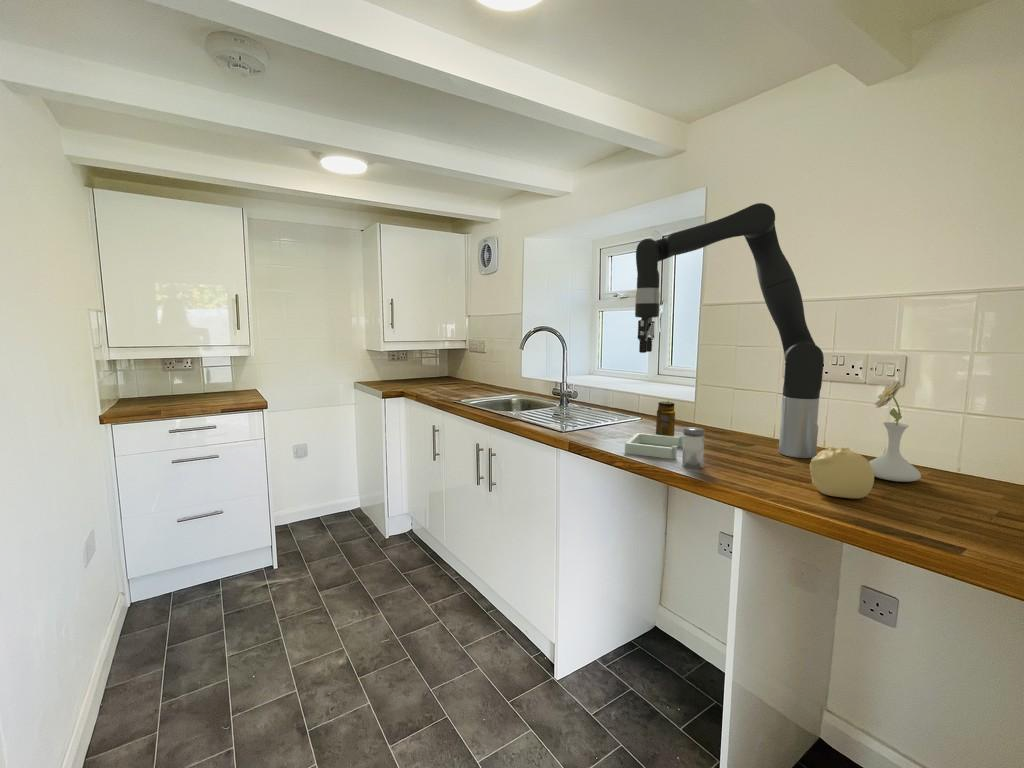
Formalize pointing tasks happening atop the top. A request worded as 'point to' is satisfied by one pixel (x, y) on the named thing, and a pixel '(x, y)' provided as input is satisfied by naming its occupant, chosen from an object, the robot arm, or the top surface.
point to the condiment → (665, 419)
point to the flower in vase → (893, 444)
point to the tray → (651, 450)
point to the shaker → (693, 447)
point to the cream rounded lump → (841, 473)
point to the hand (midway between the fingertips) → (645, 352)
